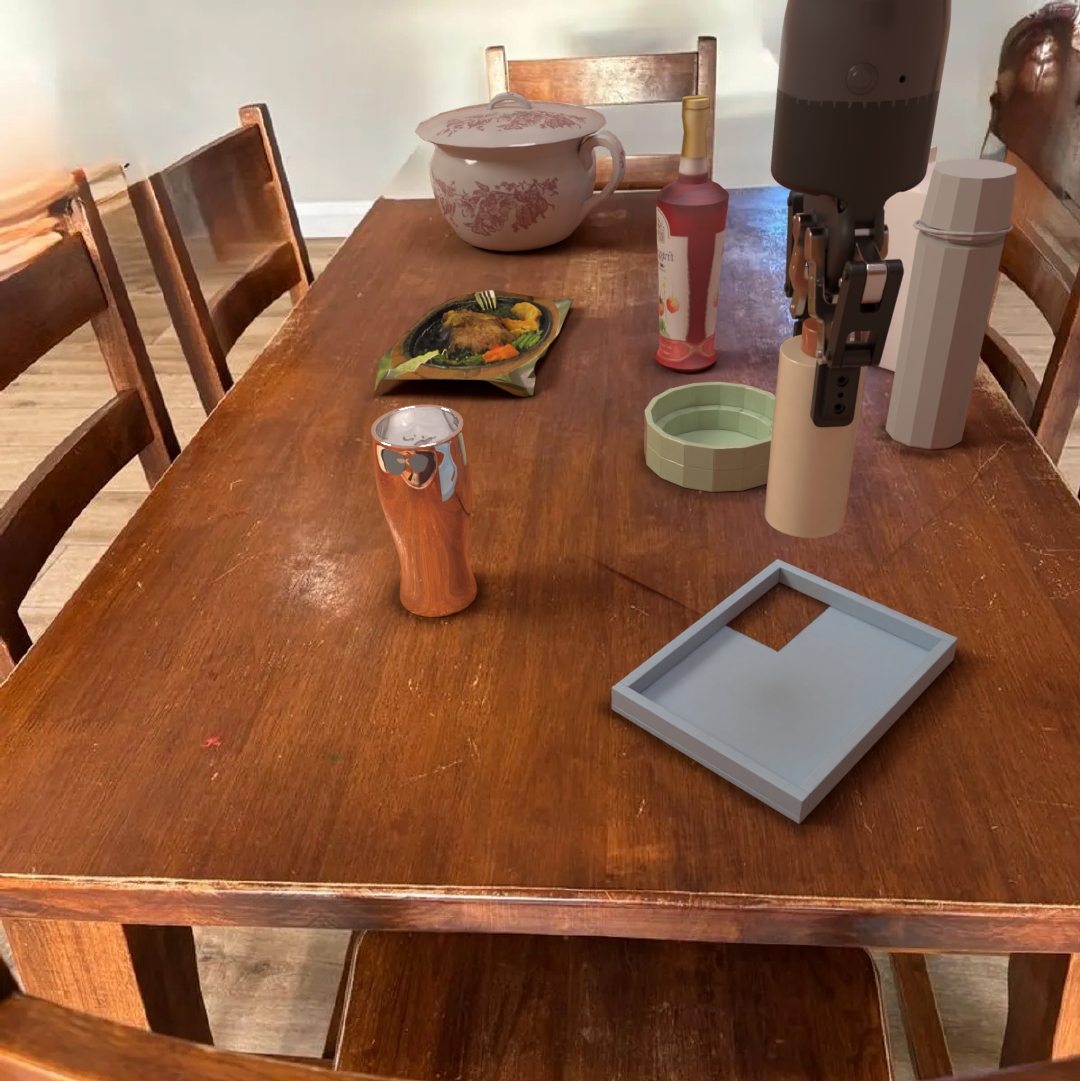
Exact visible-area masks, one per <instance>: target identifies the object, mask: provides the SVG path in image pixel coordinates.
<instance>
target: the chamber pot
mask: <svg viewBox="0 0 1080 1081" xmlns="http://www.w3.org/2000/svg"><path fill="white" fill-rule="evenodd" d="M606 125H607V120H606V117H605V115H604V114H602V113H601V112H600V111H597V110H595V109H593V108H589V107H586V106H582V105H578V104H572V103H569V102H559V101H551V100H550V101H548V100H531V99H530V100H528V99H527V98H526V97H525V96H523V95H521V94H519V93H517V92H511V91H504V92H500V93H497V94H496V95H494V96H493V98H491V99H490V101H489V102H483V103H477V104H473V105H472V104H471V105H466V106H460V107H456V108H452V109H449V110H446V111H442V112H440V113H438V114H436V115H433V116H430V117H428V118H426V119H424V120H422V121H420V122H419V123H418V125H417V126H416V128H415V130H414V133H415V134H416V135H417V136H418V138H420V139H421V140H422V141H424V142H428V143H430V144H433V146H434V148H435V149H434V151H433V153H432V156H431V159H430V160H429V163H428V172H429V182H430V186H431V189H432V192H433V195H434V199H435V202H436V206H437V209H438V210H439V211H440V213H441V214H442V216H443V217H444V218H445V220H446V222H447V223H448V224H449V225H450V227H451V228H452V230H453V231H454V232H455V233H456V235H457V236H458V237H459V238H460V239H461V240H462V241H463V242H464V243H466V244H468V245H470V246H473V247H476V248H480V249H484V250H488V251H494V252H502V253H503V252H504V253H519V252H520V253H521V252H529V251H530V252H531V251H536V250H541V249H543V248H547V247H550V246H552V245H555V244H557V243H560V242H562V241H564V240H567V239H568V238H569V237H570V236H571V235H572V234H573V233H574V232H575V230H577V228H578V227H579V226H581V224H582V223H583V221H584V220H585V219H586V217H587V216H588V215H589V214H590V213H591V212H592V210H594V209H595V207H596V206H597V205H600V204H601V203H602V202H604V201H605V200H606V199H608V198H610V197H611V196H612V195H614V193H615V191H616V190H617V189H618V187H619V186H620V185H621V183H622V182H623V181H624V178H625V175H626V170H627V160H626V151H625V149H624V146H623V144H622V142H621V140H620V139H619V138H618V137H617V136H616V135H615V134H614V133H613V132H612V131H610V130H609V129H602V128H604V127H605V126H606ZM601 129H602V130H601ZM600 130H601V131H600ZM597 132H599V133H597ZM598 147H601V148H602V147H603V148H606V150H609V153H610V156H611V165H612V171H611V175H610V178H609V181H608V182H607V183H606V185H605V186H604V187H603V188H602V190H601V191H600V192H599V193H597V194H594V190H595V185H596V179H597V154H596V150H595V148H598Z"/></svg>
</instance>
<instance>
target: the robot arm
mask: <svg viewBox="0 0 1080 1081" xmlns="http://www.w3.org/2000/svg"><path fill="white" fill-rule="evenodd" d="M782 21H783V22H782V28H781V36H780V47H779V61H778V71H777V72H778V73H777V86H776V95H775V96H776V97H775V111H774V123H773V132H772V133H773V134H772V147H771V160H770V173H771V177H772V178H773V179H774V181H775V182H776V183H777V184H778V185H780V186H781V187H783V188H784V189H787V190H789V193H788V196H787V197H786V198H787V199H786V206H787V224H786V252H785V253H786V254H785V279H784V280H785V282H784V284H783V291H784V293H785V297H786V298H787V299H791V300H790V301H791V302H790V304H789V314H790V317H791V319H792V320H796V321H793V322H794V323H793V329H792V337H794V336H798V335H802V327H803V322H804V321H805V320H806V319H808V318H810V317H812V318H814V319H815V320H816V321H817V349H816V359H817V361H816V370H815V378H814V387H813V395H812V404H811V412H810V417H811V419H812V421H813V423H814V425H815V426H817V427H820V428H822V427H844V426H848V425H849V424H851V423H852V421H853V419H854V413H855V407H856V400H857V393H858V386H859V379H860V372H861V367H866V366H868V367H878V366H879V364H880V362H881V358H882V354H883V350H884V346H885V343H886V339H887V335H888V331H889V328H890V324H891V320H892V316H893V313H894V309H895V305H896V301H897V297H898V294H899V290H900V286H901V282H902V278H903V275H904V268H903V263H902V261H901V259H888V260H884V259H885V258H886V256H887V254H888V244H889V230H888V226H887V224H884V216H885V211H884V205H885V202H886V201H887V200H888V199H889V198H890V197H892V196H893V195H895V194H896V193H898V192H905V191H908V190H910V189H912V188H914V187H916V186H917V185H918V184H920V183H921V182H922V180H923V179H924V177H925V175H926V172H927V167H928V160H929V154H930V148H931V147H932V141H933V136H934V129H935V123H936V118H937V112H938V105H939V99H940V93H941V87H942V80H943V76H944V75H943V73H944V69H945V63H946V57H947V51H948V44H949V38H950V33H951V32H950V30H951V21H952V0H787V2H786V7H785V12H784V16H783V20H782ZM850 333H851V334H852V333H854V334H853V339H854V340H853V341H846V340H847V336H848V335H849V334H850Z"/></svg>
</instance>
